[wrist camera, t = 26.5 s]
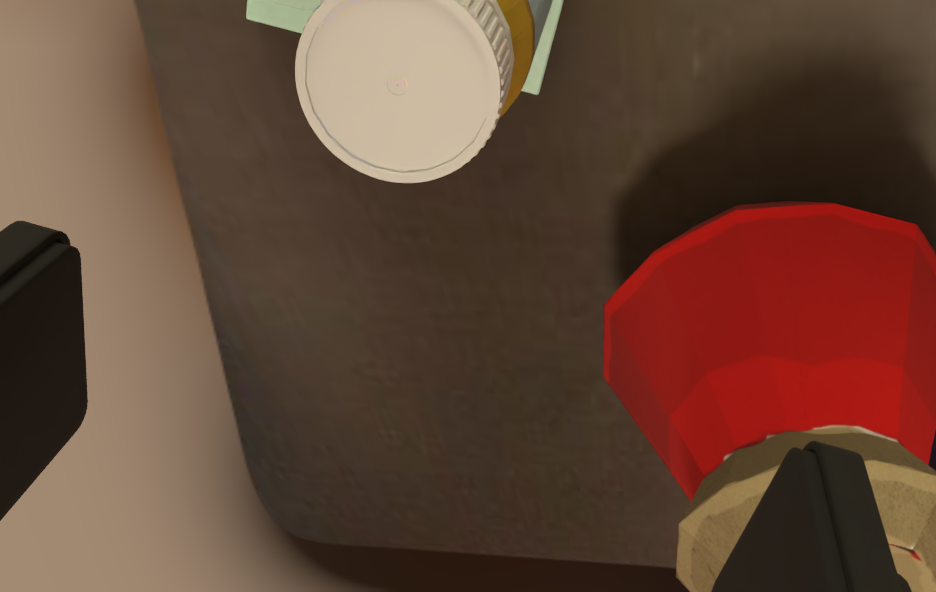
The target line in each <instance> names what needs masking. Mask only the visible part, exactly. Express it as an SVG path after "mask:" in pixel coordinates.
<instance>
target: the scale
mask: <svg viewBox="0 0 936 592" xmlns="http://www.w3.org/2000/svg"><path fill="white" fill-rule="evenodd" d="M321 1H322V0H247V12H246V18H247V19H248V20H252V21H256V22H260V23H264V24H267V25H271V26H275V27H279V28H283V29H287V30H290V31H294V32H298V33H303V29H304V27H305V26H306V25H307V20H308V19H309V17H311V16H312V15H313V14H314V13H313V11H314V10H315V8H316V7H318V6H319V5H320V4H321ZM563 2H564V0H553V1H552V4H551V7H550V10H549V13H548V16H547V19H546V22H545V25H544V28H543V31H542V34H541V37H540V40H539V43H538V46H537V49H536V52H535V55H534V59H533V61H532V64H531V67H530V70H529V73H528V76H527V79H526V82H525V84H524V86H523V88H522V90H521V91H524V92H528V93H531V94H535V95H538V94H539V92H540V88H541V85H542V81H543V77H544V73H545V69H546V66H547V62H548V58H549V54H550V51H551V47H552V43H553V39H554V36H555V32H556V28H557V24H558V20H559V17H560V13H561V9H562V5H563Z"/></svg>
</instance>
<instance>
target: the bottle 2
mask: <svg viewBox="0 0 936 592" xmlns="http://www.w3.org/2000/svg"><path fill="white" fill-rule="evenodd" d="M604 378H605V379H606V381H607V382H608V384H609V385H610V386H611V388H612V389H613V391H614V392H615V394H616V395H617V396H618V398H619V399H620V401H621V402H622V404H623V405H624V406H625V408H626V409H627V411H628V412H629V414H630V415H631V416H632V418H633V419H634V421H635V422H636V424H637V425H638V426H639V428H640V429H641V431H642V432H643V434H644V435H645V436H646V438H647V439H648V441H649V442H650V444H651V445H652V446H653V448H654V449H655V451H656V452H657V454H658V455H659V457H660V458H661V459H662V461H663V462H664V464H665V465H666V467H667V468H668V469H669V471H670V472H671V474H672V475H673V477H674V478H675V479H676V481H677V482H678V484H679V485H680V487H681V488H682V489H683V491H684V492H685V494H686V495H687V497H688V498H689V499H690V501H691V503H690V505H689V506H688V508H687V510H686V512H685V514H684V516H683V518H682V519H681V521H680V523H679V533H678V550H677V568H676V577H677V578H678V579H679V580H680V581H681V583H682V584H683V585H684V586H685V587H686V588H687V589H688V590H689V591H690V592H711V591H712V588H713V585H714V583H715V581H716V579H717V577H718V575H719V573H720V572H721V570H722V568H723V566H724V565H725V563H726V561H727V559H728V557H729V556H730V554H731V552H732V550H733V548H734V547H735V545H736V543H737V541H738V540H739V538H740V536H741V534H742V532H743V531H744V529H745V527H746V525H747V523H748V522H749V520H750V518H751V516H752V515H753V513H754V511H755V509H756V507H757V506H758V504H759V502H760V500H761V498H762V497H763V495H764V493H765V491H766V490H767V488H768V486H769V484H770V482H771V481H772V479H773V477H774V475H775V473H776V472H777V470H778V468H779V466H780V465H781V463H782V461H783V459H784V457H785V456H786V454H787V453H788V451H789V450H790V449H791V448H793V447H796V448H800V449H803V448H804V447H805V446H806V444H808V443H809V442H810V441H818V442H822V443H825V444H829V445H833V446H836V447H840V448H843V449H847V450H851V451H854V452H857V453H859V454H860V455H861V456H862V458H863V460H864V463H865V466H866V470H867V473H868V476H869V480H870V483H871V486H872V490H873V493H874V496H875V500H876V503H877V507H878V510H879V513H880V517H881V520H882V523H883V527H884V530H885V533H886V537H887V540H888V544H889V547H890V550H891V554H892V557H893V560H894V564H895V567H896V570H897V574H900V575H901V576H902V577H903V578H904V579H905V580H906V581H907V582H908V584H909V586H910V588H911V591H912V592H936V471H935V470H934V469H932V468H931V467H930V466H928V464H929V459H930V454H931V449H932V445H933V440H934V435H935V430H936V252H935V251H934V249H933V248H932V246H931V245H930V243H929V242H928V240H927V239H926V237H925V236H924V234H923V233H922V231H921V230H920V228H919V227H918V225H917V224H914V223H910V222H906V221H902V220H898V219H894V218H890V217H886V216H882V215H878V214H874V213H870V212H866V211H863V210H859V209H855V208H851V207H847V206H843V205H839V204H835V203H823V202H801V201H778V202H765V203H752V204H739V205H735V206H733V207H731V208H729V209H727V210H725V211H723V212H721V213H719V214H717V215H715V216H713V217H711V218H709V219H707V220H705V221H703V222H701V223H699V224H697V225H695V226H694V227H692V228H690V229H689V230H687V231H686V232H684V233H682V234H681V235H679V236H678V237H676V238H674V239H673V240H671V241H670V242H668V243H666V244H665V245H663V246H662V247H660V248H658V249H657V250H655V251H654V252H653V253H652V254H651V255H650V256H649V257H648V258H647V259H646V260H645V261H644V262H643V263H642V264H641V266H640V267H639V268H638V269H637V270H636V271H635V272H634V273H633V274H632V275H631V276H630V277H629V278H628V279H627V280H626V281H625V282H624V284H623V285H622V286H621V287H620V288H619V289H618V290H617V291H616V292H615V293H614V294H613V295H612V296H611V297H610V298H609V299H608V300H607V302H606V303H605V304H604Z"/></svg>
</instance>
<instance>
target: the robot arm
mask: <svg viewBox="0 0 936 592" xmlns="http://www.w3.org/2000/svg"><path fill="white" fill-rule="evenodd" d="M86 381H87V380H86V360H85V340H84V318H83V297H82V276H81V258H80V253H79V251H78V249H77V248H75V247H73V246H70V240H69V239H68V237H67V235H66V234H64V233H63V232H61V231H57V230H53V229H50V228H46V227H43V226H39V225H36V224H32V223H28V222H25V221H16V222H14V223H12V224H10V225H9V226H8V227H6V228H5V229H3V230H2V231H1V232H0V521H1V519H2V518H3V517H4V516H5V515H6V513H7V512H8V511H9V510H10V509H11V508H12V506H13V505H14V504H15V503H16V502H17V500H18V499H19V498H20V497H21V496H22V495H23V493H24V492H25V491H26V490H27V489H28V488H29V486H30V485H31V484H32V483H33V482H34V480H35V479H36V478H37V477H38V476H39V475H40V473H41V472H42V471H43V470H44V469H45V467H46V466H47V465H48V464H49V463H50V462H51V460H52V459H53V458H54V457H55V456H56V455H57V453H58V452H59V451H60V450H61V449H62V448H63V446H64V445H65V444H66V443H67V442H68V440H69V439H70V438H71V437H72V436H73V435H74V433H75V432H76V431H77V430H78V428H79V427H80V425H81V423H82V421H83V419H84V416H85V414H86V409H87V402H88V400H87V382H86ZM711 592H912V591H911V588H910V586H909V584H908V582H907V581H906V580H905V579H904V578H903V577H902V576H901V575H900V574H897V570H896V567H895V564H894V560H893V557H892V554H891V550H890V547H889V544H888V540H887V537H886V533H885V530H884V527H883V523H882V520H881V517H880V513H879V510H878V507H877V503H876V500H875V496H874V493H873V490H872V486H871V483H870V480H869V476H868V473H867V470H866V466H865V463H864V460H863V458H862V456H861V455H860V454H859V453H857V452H854V451H851V450H847V449H843V448H840V447H836V446H833V445H829V444H825V443H822V442H818V441H810V442H809V443H808V444H806V446H805V447H804V448H803V449H800V448H796V447H793V448H791V449H790V450H789V451H788V453H787V454H786V456H785V457H784V459H783V461H782V463H781V465H780V466H779V468H778V470H777V472H776V473H775V475H774V477H773V479H772V481H771V482H770V484H769V486H768V488H767V490H766V491H765V493H764V495H763V497H762V498H761V500H760V502H759V504H758V506H757V507H756V509H755V511H754V513H753V515H752V516H751V518H750V520H749V522H748V523H747V525H746V527H745V529H744V531H743V532H742V534H741V536H740V538H739V540H738V541H737V543H736V545H735V547H734V548H733V550H732V552H731V554H730V556H729V557H728V559H727V561H726V563H725V565H724V566H723V568H722V570H721V572H720V573H719V575H718V577H717V579H716V581H715V583H714V585H713V588H712V591H711Z"/></svg>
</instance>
